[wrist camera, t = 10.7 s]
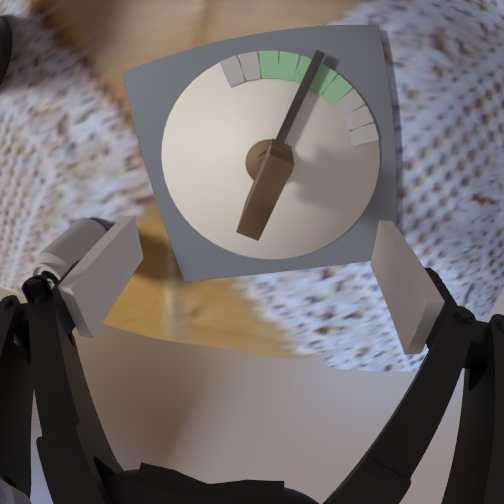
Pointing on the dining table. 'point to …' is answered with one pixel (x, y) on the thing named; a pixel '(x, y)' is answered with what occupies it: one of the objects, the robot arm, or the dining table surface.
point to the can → (67, 249)
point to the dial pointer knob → (272, 165)
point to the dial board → (261, 128)
